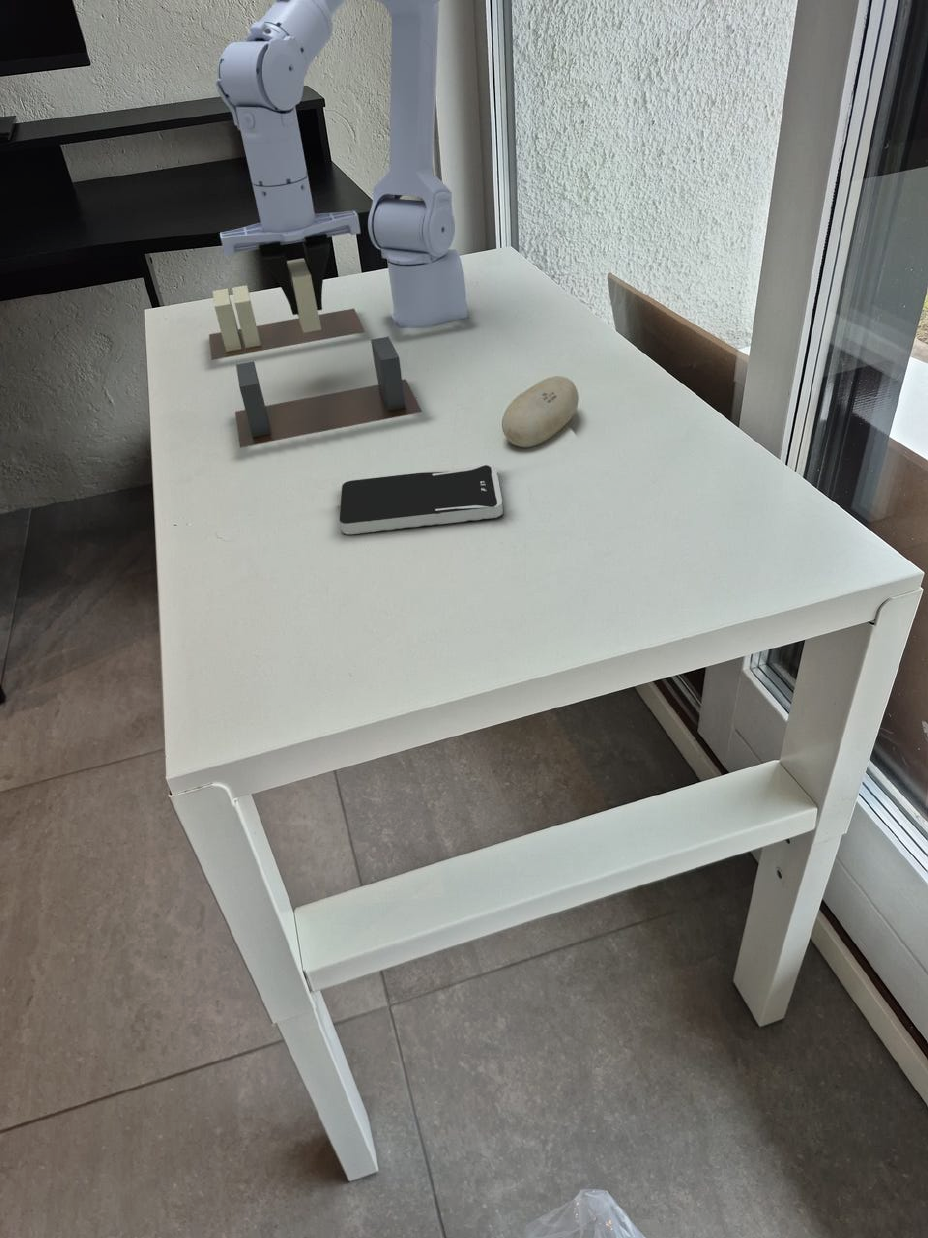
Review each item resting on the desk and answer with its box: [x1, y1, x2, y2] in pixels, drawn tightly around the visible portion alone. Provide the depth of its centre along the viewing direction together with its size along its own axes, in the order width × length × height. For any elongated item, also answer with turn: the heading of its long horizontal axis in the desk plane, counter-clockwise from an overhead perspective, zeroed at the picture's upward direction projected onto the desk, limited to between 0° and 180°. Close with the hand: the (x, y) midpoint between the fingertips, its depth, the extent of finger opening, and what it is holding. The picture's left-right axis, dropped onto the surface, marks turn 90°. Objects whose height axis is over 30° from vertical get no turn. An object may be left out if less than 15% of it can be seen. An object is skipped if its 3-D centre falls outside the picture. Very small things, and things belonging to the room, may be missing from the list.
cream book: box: [287, 258, 321, 333], centre depth 100 cm, size 2×6×6 cm, turn 15°
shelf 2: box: [234, 378, 423, 449], centre depth 101 cm, size 20×9×1 cm, turn 105°
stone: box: [501, 375, 580, 449], centre depth 93 cm, size 6×6×12 cm
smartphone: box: [339, 464, 504, 536], centre depth 85 cm, size 8×1×15 cm
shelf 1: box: [208, 308, 366, 361], centre depth 120 cm, size 20×9×1 cm, turn 105°
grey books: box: [235, 336, 406, 438], centre depth 99 cm, size 17×6×6 cm, turn 105°
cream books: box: [212, 284, 261, 352], centre depth 117 cm, size 4×6×6 cm
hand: (306, 309), depth 101 cm, fingers closed on cream book, 2 cm apart
